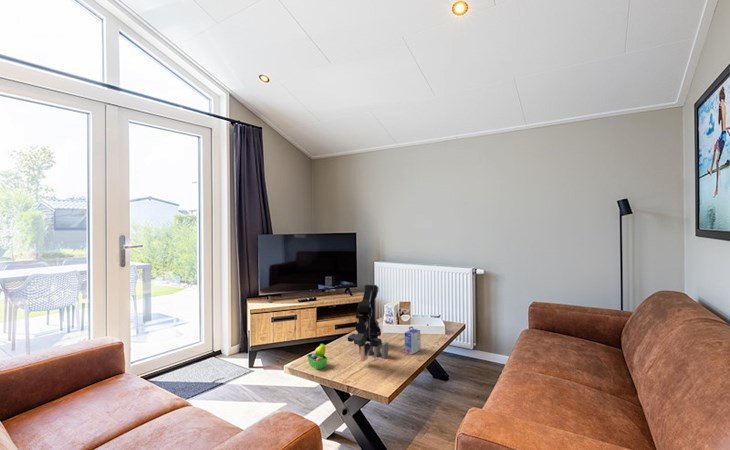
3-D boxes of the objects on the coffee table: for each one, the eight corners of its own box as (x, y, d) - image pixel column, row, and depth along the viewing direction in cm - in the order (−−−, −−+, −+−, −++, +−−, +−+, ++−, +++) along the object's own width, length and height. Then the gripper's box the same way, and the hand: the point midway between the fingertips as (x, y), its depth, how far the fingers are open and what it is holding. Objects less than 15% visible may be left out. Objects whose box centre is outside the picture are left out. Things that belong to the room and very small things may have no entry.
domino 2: (365, 357, 189) (365, 343, 188) (367, 358, 188) (367, 344, 188) (360, 361, 184) (360, 346, 184) (363, 361, 183) (363, 347, 183)
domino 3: (370, 351, 205) (370, 338, 204) (372, 352, 204) (372, 339, 204) (366, 354, 200) (366, 341, 200) (368, 355, 199) (368, 341, 199)
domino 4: (377, 353, 202) (377, 340, 202) (380, 354, 201) (380, 340, 201) (374, 356, 198) (373, 342, 198) (376, 357, 197) (376, 343, 197)
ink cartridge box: (413, 347, 211) (413, 324, 211) (421, 350, 207) (421, 326, 207) (404, 352, 204) (404, 328, 204) (411, 354, 200) (411, 330, 200)
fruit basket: (306, 364, 188) (306, 343, 188) (320, 360, 193) (320, 340, 193) (315, 371, 179) (315, 350, 179) (330, 367, 184) (330, 346, 184)
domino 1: (363, 350, 207) (363, 337, 207) (365, 350, 206) (365, 337, 206) (359, 353, 203) (359, 340, 203) (361, 353, 202) (361, 340, 202)
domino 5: (385, 355, 200) (385, 341, 199) (387, 355, 199) (387, 342, 199) (381, 358, 195) (381, 344, 195) (384, 358, 194) (384, 344, 194)
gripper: (342, 328, 184) (342, 357, 184) (372, 334, 174) (372, 364, 175) (352, 323, 193) (353, 350, 194) (382, 328, 184) (382, 356, 184)
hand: (364, 355), depth 186 cm, fingers closed on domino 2, 2 cm apart
